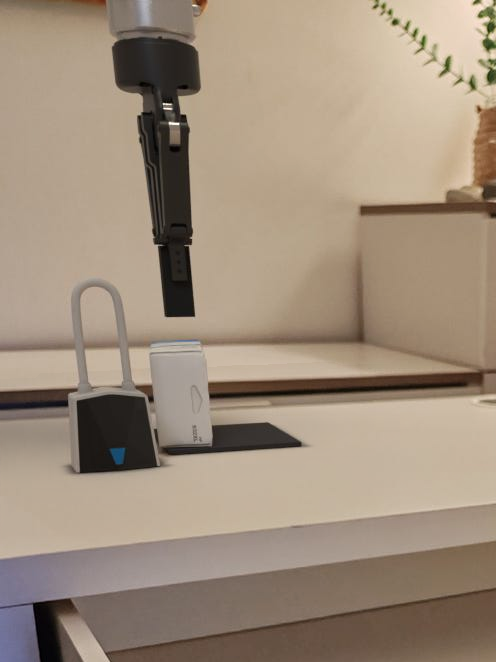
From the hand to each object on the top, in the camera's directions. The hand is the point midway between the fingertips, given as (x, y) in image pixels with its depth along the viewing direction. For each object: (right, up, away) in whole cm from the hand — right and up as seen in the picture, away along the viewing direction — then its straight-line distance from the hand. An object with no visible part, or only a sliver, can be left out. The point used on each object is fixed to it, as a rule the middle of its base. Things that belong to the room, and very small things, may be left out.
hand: (179, 316), depth 101 cm
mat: (+5, -12, -1) cm, 13 cm away
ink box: (0, -6, +1) cm, 7 cm away
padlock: (-1, -17, -14) cm, 22 cm away
